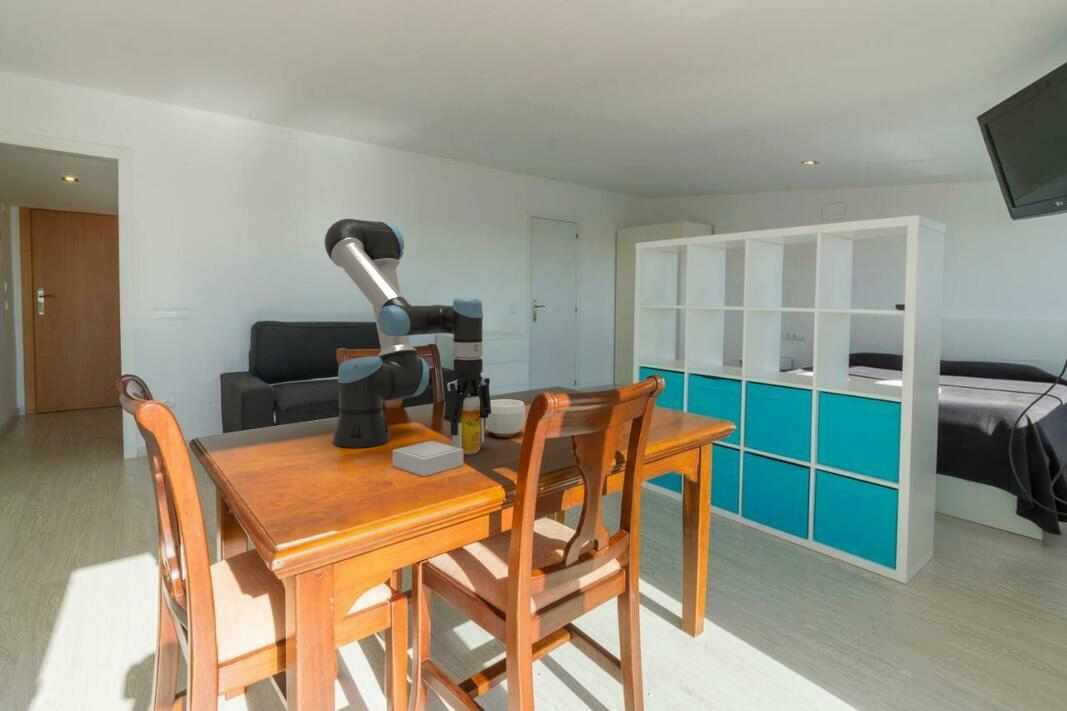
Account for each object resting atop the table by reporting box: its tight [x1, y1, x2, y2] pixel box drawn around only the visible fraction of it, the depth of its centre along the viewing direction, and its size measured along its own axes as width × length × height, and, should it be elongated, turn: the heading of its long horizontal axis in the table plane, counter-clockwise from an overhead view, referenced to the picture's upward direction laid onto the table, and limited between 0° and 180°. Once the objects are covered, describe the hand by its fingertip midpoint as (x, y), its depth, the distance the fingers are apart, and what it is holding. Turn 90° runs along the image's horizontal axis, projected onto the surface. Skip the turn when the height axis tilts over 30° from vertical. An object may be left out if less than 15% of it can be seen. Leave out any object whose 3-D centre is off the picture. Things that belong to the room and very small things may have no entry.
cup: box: [485, 398, 527, 438], centre depth 172 cm, size 12×12×10 cm
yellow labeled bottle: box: [459, 394, 481, 455], centre depth 153 cm, size 6×6×15 cm
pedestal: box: [392, 440, 464, 478], centre depth 141 cm, size 12×12×4 cm
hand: (468, 444), depth 154 cm, fingers open, 7 cm apart
